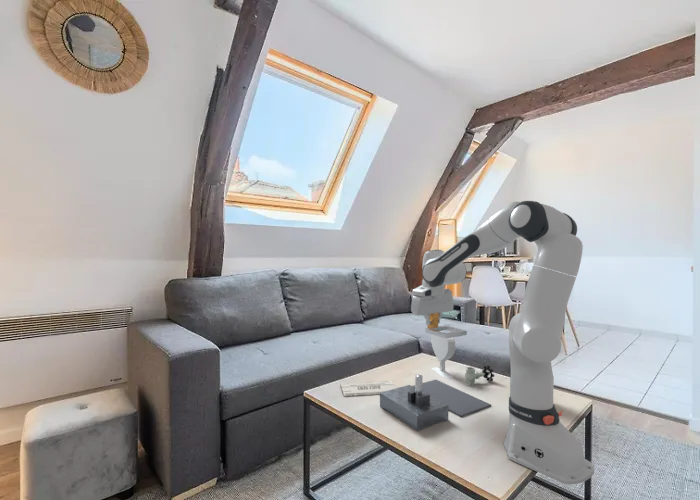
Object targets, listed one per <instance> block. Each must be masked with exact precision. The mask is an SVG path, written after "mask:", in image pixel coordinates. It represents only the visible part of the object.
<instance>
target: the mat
mask: <svg viewBox="0 0 700 500" xmlns="http://www.w3.org/2000/svg"><path fill="white" fill-rule="evenodd" d="M412 386H413V387H415V384H414V385H412ZM422 392H424V393H428V394H430V396H432V397H434V398H436V399H438V400H440V401H442V402H444V403H446V404H447V405H449V406H448V412H450V413H452V414H454V415H456V416H458V417H460V418H462V417H465V416H468V415H471V414H474V413H476V412H480V411H482V410H484V409H488V408H489V407H492V404H490V403H488V402H487V401H484V400H482V399H479V398H478V397H475V396H473V395H471V394H469V393H466V392H465V391H462V390H460V389H459V388H456V387H453V386H451V385H450V384H447V383H445V382H442V381H441V380H439V379H433V380H429V381H425V382H422Z"/></svg>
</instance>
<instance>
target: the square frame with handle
mask: <svg viewBox="0 0 700 500" xmlns="http://www.w3.org/2000/svg"><path fill="white" fill-rule="evenodd" d="M429 318H430V320H432V325H427V324H426V325H427V327H426V328H424V329H425V330H424V331H425V333H427V334H429V335H431V334H433V335H436V336H439V337H442V338H445V339H448V338H453V339H454V338H457V337H462V336H467V334H468V333H467V332H468V330H464V329H461V328H457V327H453V326H450V325H439V324H438V313H434V314H430V317H429ZM440 331H442V332H440ZM444 331H447V333H446V332H444ZM443 332H444V333H443Z"/></svg>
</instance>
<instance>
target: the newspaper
mask: <svg viewBox="0 0 700 500" xmlns="http://www.w3.org/2000/svg"><path fill="white" fill-rule="evenodd" d="M339 386H340V388H341V390H342V393H343V398H349V397H351V396H352V397H363V396H364V397H365V396H380V393H381V392H384V391H388V390H392V389H396V388H397V386H395V384H394V382H393V381H391V380H382V381H372V382H371V381H367V382H351V383H350V382H349V383H348V382H347V383H340V385H339Z"/></svg>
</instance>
